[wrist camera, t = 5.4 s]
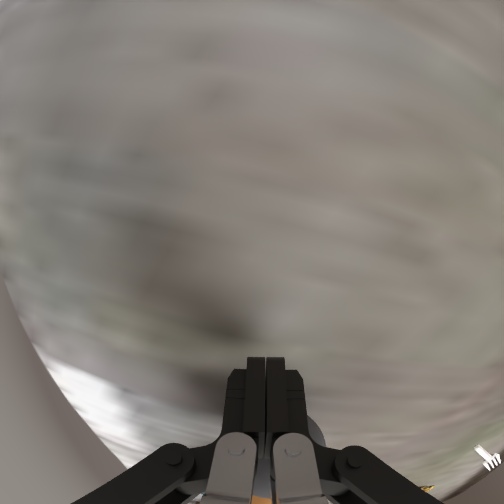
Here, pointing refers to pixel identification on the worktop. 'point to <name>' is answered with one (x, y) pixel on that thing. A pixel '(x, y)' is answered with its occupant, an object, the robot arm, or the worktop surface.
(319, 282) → the worktop surface
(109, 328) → the worktop surface
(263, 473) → the dark grey ball
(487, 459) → the fork
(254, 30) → the worktop surface
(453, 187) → the worktop surface
